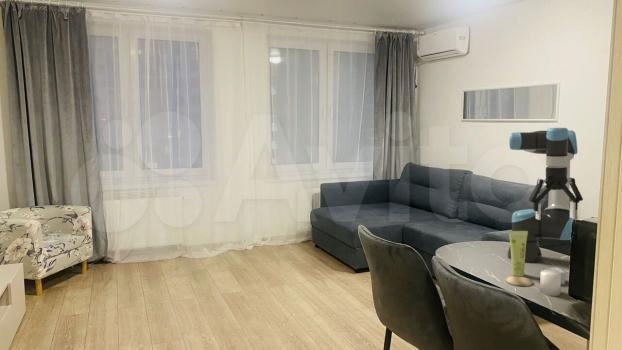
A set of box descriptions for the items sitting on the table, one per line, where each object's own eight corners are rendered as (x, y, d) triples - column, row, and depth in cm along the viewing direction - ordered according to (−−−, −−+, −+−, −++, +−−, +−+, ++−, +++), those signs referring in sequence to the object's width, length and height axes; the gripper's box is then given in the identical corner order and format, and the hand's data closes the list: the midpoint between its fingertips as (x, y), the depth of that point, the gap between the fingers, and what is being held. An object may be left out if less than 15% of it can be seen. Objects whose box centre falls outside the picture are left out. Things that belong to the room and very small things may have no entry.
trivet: (526, 277, 193) (526, 276, 193) (536, 286, 183) (536, 284, 183) (502, 278, 193) (502, 276, 193) (511, 286, 183) (511, 284, 183)
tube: (517, 277, 193) (518, 232, 191) (507, 274, 198) (508, 230, 195) (527, 275, 195) (527, 231, 193) (517, 272, 200) (518, 228, 198)
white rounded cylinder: (555, 289, 179) (555, 269, 178) (564, 296, 172) (564, 275, 171) (536, 289, 179) (537, 269, 178) (545, 296, 172) (545, 275, 171)
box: (557, 279, 190) (557, 267, 190) (564, 284, 184) (565, 272, 184) (542, 279, 190) (543, 267, 190) (549, 284, 184) (549, 272, 184)
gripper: (583, 164, 185) (581, 215, 187) (520, 166, 186) (519, 217, 188) (593, 166, 177) (592, 219, 180) (528, 168, 178) (527, 221, 181)
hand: (555, 218), depth 184 cm, fingers open, 13 cm apart
